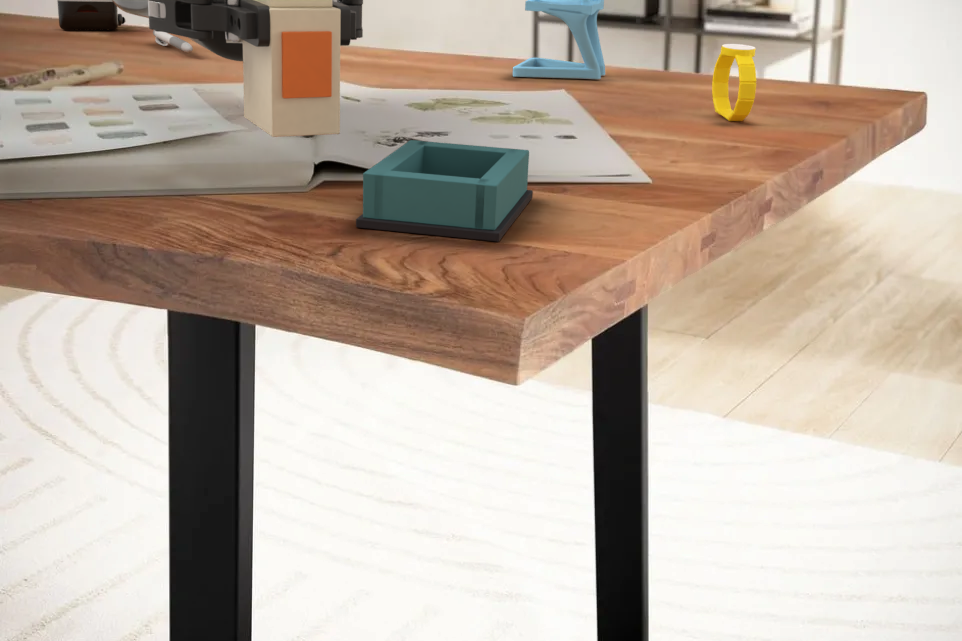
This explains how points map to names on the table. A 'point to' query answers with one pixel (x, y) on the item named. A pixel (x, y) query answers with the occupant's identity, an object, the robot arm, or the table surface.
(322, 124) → the toy robot
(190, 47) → the pen
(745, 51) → the watch
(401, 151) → the box
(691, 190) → the table surface
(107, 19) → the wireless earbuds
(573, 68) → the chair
